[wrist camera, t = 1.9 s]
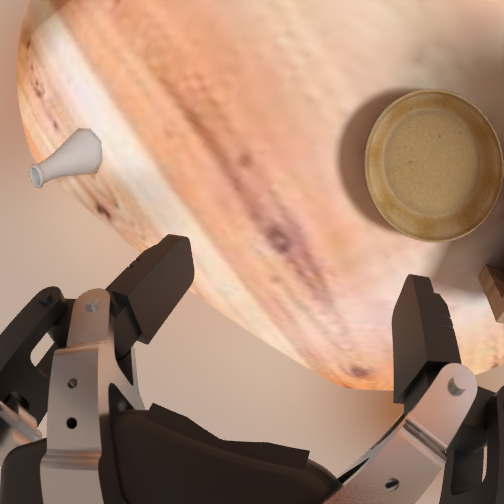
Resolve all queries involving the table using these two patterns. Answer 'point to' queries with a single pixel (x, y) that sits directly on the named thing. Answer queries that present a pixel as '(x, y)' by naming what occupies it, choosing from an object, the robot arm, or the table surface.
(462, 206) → the plant saucer
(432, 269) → the table surface
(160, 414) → the robot arm
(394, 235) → the table surface
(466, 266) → the table surface
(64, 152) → the flask
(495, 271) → the walnut shelf
